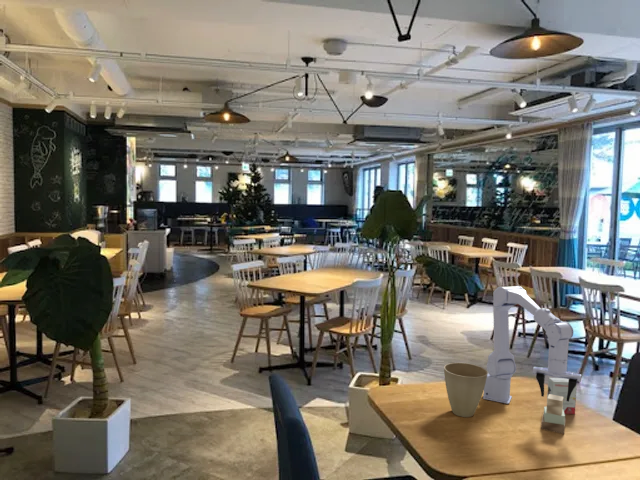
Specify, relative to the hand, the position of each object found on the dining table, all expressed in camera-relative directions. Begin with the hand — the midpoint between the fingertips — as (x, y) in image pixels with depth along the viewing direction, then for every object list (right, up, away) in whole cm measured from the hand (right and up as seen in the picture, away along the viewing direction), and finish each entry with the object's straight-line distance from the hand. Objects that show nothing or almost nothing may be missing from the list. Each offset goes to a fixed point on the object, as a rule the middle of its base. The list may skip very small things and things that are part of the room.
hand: (555, 397), depth 170 cm
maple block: (0, -5, 0) cm, 5 cm away
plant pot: (-28, -9, +11) cm, 31 cm away
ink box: (+9, -10, +15) cm, 20 cm away
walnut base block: (0, -11, +1) cm, 11 cm away
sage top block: (0, -8, +1) cm, 8 cm away
